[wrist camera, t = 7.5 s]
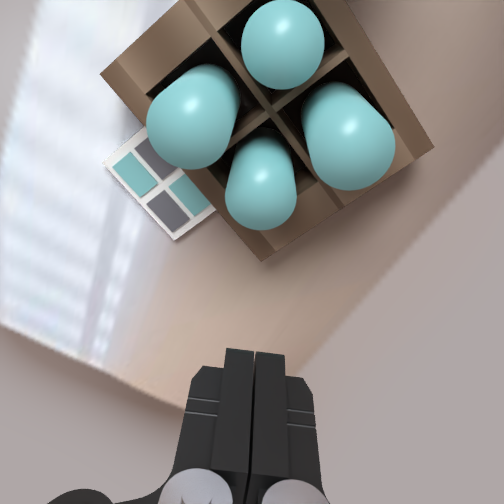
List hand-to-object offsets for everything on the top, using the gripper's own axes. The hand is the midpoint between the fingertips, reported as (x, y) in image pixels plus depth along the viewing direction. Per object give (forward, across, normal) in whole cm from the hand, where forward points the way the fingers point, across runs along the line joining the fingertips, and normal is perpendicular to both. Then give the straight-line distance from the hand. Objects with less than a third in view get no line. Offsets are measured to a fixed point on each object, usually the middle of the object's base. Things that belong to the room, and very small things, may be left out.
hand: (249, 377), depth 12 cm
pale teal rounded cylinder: (+18, +3, -3) cm, 19 cm away
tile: (+21, +6, +3) cm, 22 cm away
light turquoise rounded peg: (+21, 0, 0) cm, 21 cm away
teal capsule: (+21, 0, -7) cm, 22 cm away
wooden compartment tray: (+21, 0, -3) cm, 21 cm away
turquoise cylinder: (+18, -4, -3) cm, 19 cm away
